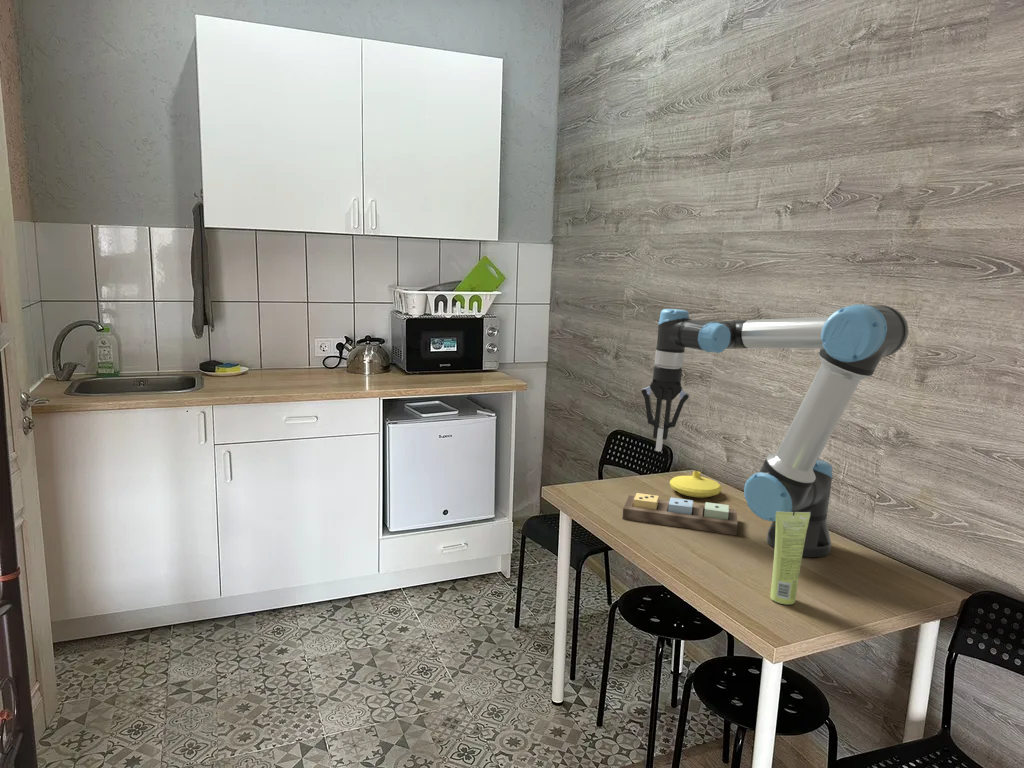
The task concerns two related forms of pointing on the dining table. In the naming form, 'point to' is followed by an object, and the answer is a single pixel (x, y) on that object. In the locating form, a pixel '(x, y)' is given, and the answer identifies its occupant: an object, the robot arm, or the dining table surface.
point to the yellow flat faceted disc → (695, 485)
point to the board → (681, 517)
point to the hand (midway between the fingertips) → (658, 449)
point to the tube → (788, 555)
